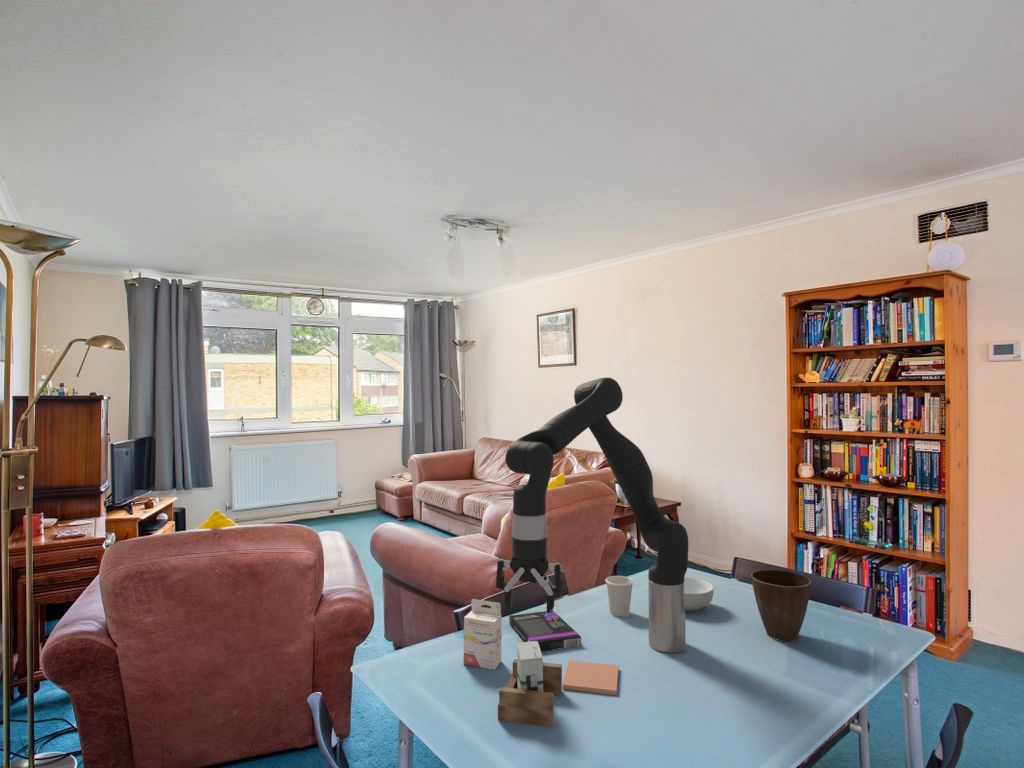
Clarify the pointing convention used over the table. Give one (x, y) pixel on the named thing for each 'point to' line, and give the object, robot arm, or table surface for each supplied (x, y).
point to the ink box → (529, 666)
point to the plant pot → (781, 601)
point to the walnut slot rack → (531, 698)
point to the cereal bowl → (696, 593)
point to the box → (544, 630)
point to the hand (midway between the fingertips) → (529, 609)
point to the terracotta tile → (591, 677)
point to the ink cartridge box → (483, 635)
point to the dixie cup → (619, 595)
